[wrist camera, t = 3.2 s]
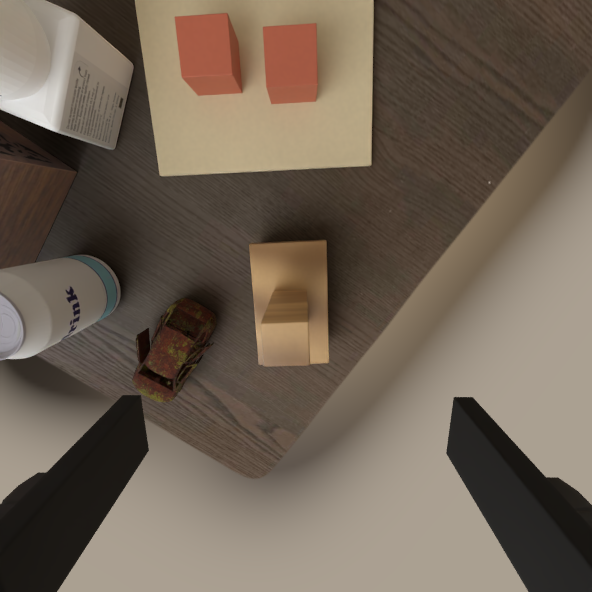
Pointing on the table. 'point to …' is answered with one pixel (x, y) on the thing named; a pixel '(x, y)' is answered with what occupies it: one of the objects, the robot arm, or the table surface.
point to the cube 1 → (209, 54)
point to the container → (61, 72)
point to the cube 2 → (291, 63)
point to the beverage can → (52, 302)
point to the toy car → (172, 349)
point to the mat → (261, 91)
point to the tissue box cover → (28, 196)
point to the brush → (290, 302)
